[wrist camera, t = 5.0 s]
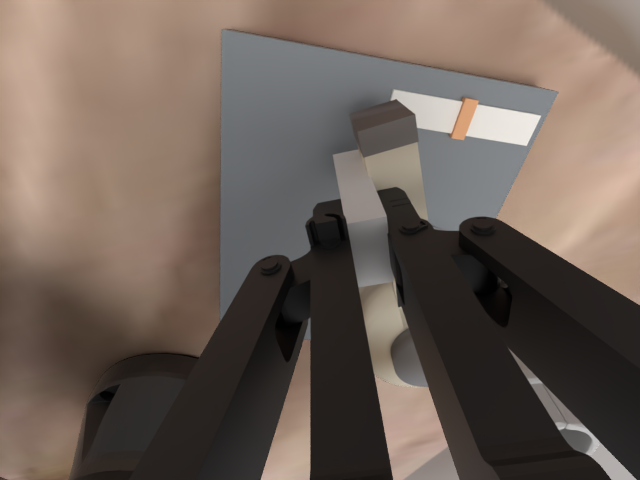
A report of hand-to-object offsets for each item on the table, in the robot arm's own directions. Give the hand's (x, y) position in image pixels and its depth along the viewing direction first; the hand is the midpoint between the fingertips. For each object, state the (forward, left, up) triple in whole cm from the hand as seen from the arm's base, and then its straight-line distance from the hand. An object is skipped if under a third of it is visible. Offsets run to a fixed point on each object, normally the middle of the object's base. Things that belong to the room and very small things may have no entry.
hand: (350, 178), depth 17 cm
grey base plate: (-5, -2, -5) cm, 7 cm away
